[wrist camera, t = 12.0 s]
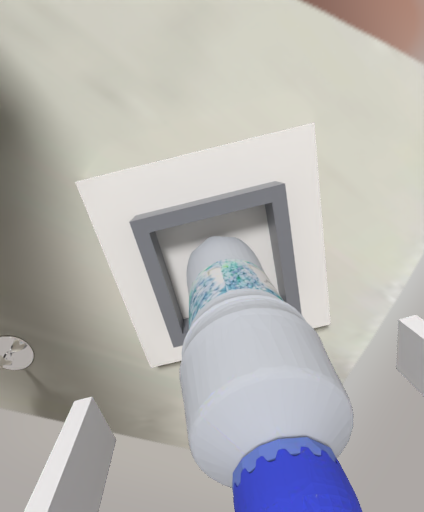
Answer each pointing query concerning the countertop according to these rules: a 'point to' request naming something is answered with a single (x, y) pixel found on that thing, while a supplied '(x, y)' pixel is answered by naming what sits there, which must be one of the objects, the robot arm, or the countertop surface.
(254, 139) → the dock
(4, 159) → the countertop surface
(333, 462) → the bottle
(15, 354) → the wineglass
